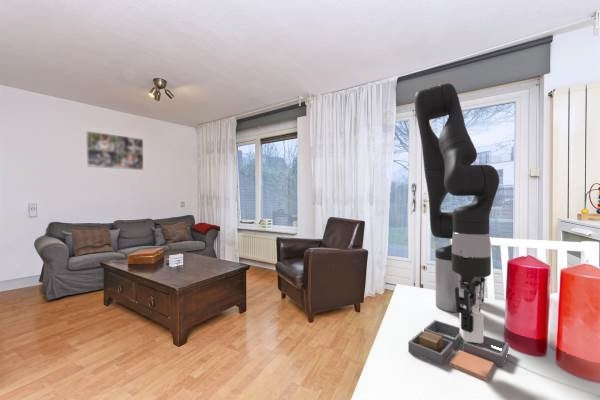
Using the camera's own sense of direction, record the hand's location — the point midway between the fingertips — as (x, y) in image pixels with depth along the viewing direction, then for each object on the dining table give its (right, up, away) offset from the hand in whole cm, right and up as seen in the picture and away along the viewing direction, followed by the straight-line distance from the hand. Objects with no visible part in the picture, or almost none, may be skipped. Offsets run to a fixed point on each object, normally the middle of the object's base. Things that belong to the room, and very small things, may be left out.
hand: (470, 326), depth 61 cm
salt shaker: (0, -3, 0) cm, 3 cm away
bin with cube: (-6, -9, +6) cm, 12 cm away
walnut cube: (-6, -9, +6) cm, 13 cm away
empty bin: (0, -9, +12) cm, 15 cm away
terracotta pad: (0, -9, 0) cm, 9 cm away
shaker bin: (+7, -9, +5) cm, 12 cm away
